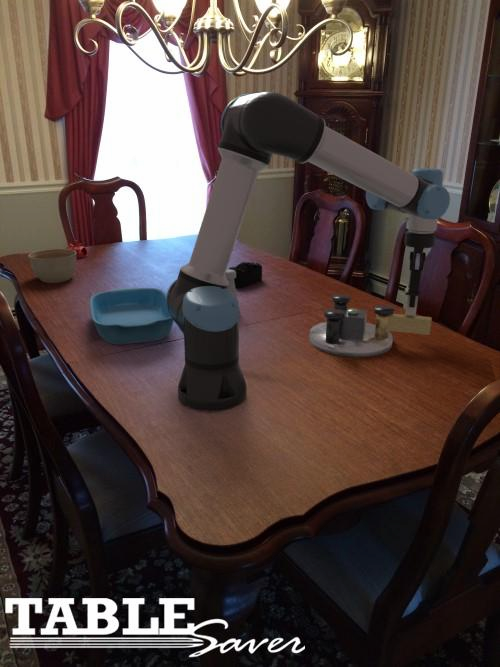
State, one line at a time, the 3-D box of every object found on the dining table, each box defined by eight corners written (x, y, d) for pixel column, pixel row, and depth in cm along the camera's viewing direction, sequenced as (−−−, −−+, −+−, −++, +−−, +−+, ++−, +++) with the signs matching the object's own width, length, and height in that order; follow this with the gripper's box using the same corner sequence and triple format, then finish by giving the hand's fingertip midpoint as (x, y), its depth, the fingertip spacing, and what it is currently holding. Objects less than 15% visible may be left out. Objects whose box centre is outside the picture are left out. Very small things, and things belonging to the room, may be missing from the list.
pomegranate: (60, 262, 229) (57, 239, 226) (83, 258, 235) (81, 237, 231) (69, 267, 222) (66, 243, 218) (92, 263, 228) (90, 241, 224)
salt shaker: (235, 314, 169) (236, 273, 164) (217, 313, 170) (217, 272, 166) (240, 308, 175) (240, 268, 170) (222, 307, 176) (222, 267, 171)
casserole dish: (90, 310, 173) (88, 288, 170) (162, 304, 179) (161, 283, 176) (95, 355, 140) (92, 328, 137) (183, 346, 146) (182, 320, 143)
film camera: (244, 279, 208) (245, 255, 205) (265, 283, 202) (265, 259, 199) (217, 287, 197) (217, 262, 194) (238, 292, 191) (238, 267, 188)
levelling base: (390, 361, 137) (394, 323, 134) (302, 351, 143) (304, 314, 139) (393, 331, 157) (397, 297, 153) (316, 323, 163) (318, 290, 159)
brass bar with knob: (370, 338, 145) (373, 310, 143) (372, 331, 150) (374, 304, 147) (428, 344, 142) (432, 316, 139) (428, 337, 146) (432, 309, 144)
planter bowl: (71, 275, 210) (68, 246, 206) (85, 285, 198) (82, 255, 194) (27, 281, 202) (23, 251, 198) (38, 292, 189) (34, 260, 185)
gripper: (406, 225, 149) (396, 308, 158) (405, 234, 138) (395, 323, 146) (435, 227, 148) (424, 311, 156) (436, 236, 136) (424, 326, 144)
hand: (410, 317), depth 151 cm, fingers closed
